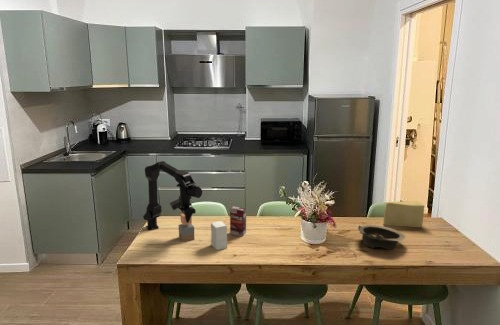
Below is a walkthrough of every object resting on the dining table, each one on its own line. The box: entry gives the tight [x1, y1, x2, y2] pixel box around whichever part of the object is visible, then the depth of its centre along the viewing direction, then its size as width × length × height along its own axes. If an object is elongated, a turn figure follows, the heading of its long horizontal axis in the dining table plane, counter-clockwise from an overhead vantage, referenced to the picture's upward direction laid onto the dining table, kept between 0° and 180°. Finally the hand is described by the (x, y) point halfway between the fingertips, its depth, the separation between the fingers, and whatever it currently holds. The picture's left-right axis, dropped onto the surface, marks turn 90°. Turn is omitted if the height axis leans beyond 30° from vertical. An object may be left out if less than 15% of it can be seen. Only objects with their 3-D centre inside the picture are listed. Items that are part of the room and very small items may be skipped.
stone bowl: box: [357, 224, 406, 251], centre depth 210 cm, size 25×25×9 cm
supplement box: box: [229, 206, 247, 237], centre depth 223 cm, size 9×5×16 cm, turn 68°
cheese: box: [382, 200, 425, 228], centre depth 235 cm, size 22×10×15 cm, turn 88°
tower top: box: [177, 223, 195, 236], centre depth 217 cm, size 7×7×4 cm
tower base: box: [178, 231, 195, 243], centre depth 219 cm, size 7×7×4 cm
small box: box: [210, 220, 228, 251], centre depth 207 cm, size 8×6×13 cm
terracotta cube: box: [179, 212, 193, 225], centre depth 216 cm, size 5×5×5 cm
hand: (186, 220), depth 217 cm, fingers closed on terracotta cube, 5 cm apart
